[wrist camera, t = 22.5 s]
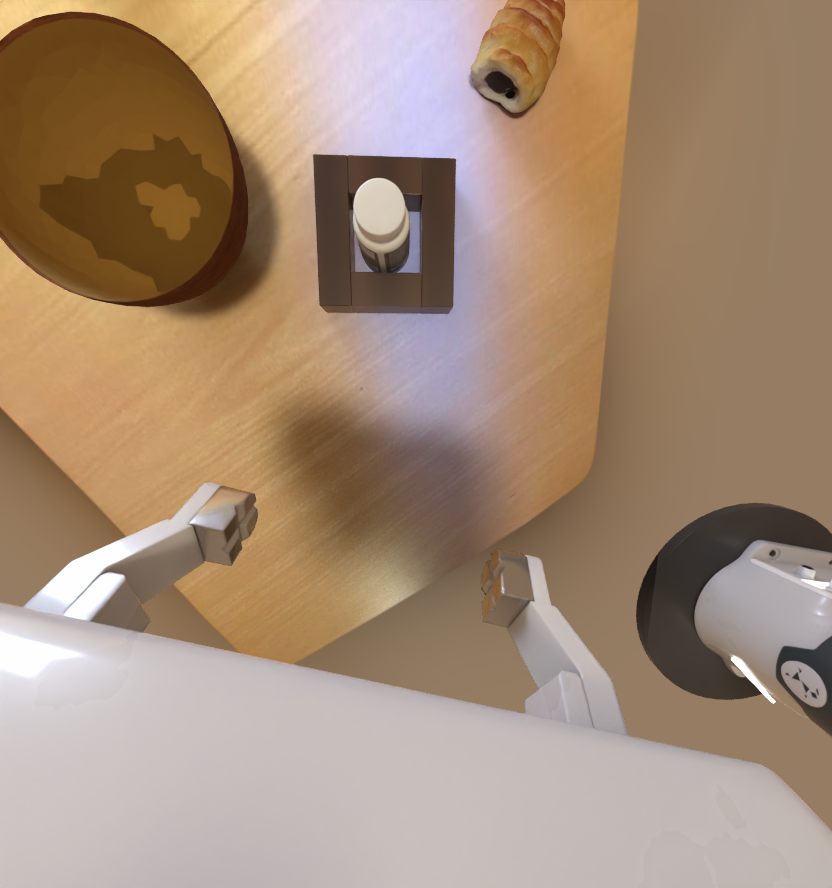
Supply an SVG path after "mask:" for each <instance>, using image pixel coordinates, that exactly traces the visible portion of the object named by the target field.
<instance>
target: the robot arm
mask: <svg viewBox="0 0 832 888" xmlns="http://www.w3.org/2000/svg"><path fill="white" fill-rule="evenodd" d="M255 502H256V497H255V494H254V493H250V492H246V491H242V490H238V489H234V488H230V487H226V486H222V485H218V484H214V483H210V482H207V483H205V484H203V485H202V486H201V487H200V488H199V489H198V490H197V491H196V492H195V493H194V495H193V496H192V497H191V498H190V499H189V500H188V501H187V502H186V503H185V504H184V506H183V507H182V508H181V509H180V510H179V511H178V512H177V513H176V514H175V516H174V517H173V518H172V519H171V520H167V519H165V520H163V521H161V522H158V523H156V524H154V525H152V526H149V527H147V528H145V529H143V530H141V531H138V532H136V533H134V534H132V535H129V536H127V537H125V538H123V539H121V540H118V541H116V542H114V543H112V544H109V545H107V546H105V547H103V548H101V549H98V550H96V551H94V552H92V553H90V554H87V555H85V556H83V557H81V558H78V559H76V560H74V561H72V562H70V563H69V564H68V565H67V566H66V567H65V568H64V569H63V570H62V571H61V572H60V573H59V574H58V575H56V576H55V578H53V579H52V580H51V581H50V582H49V583H48V584H47V585H46V586H45V587H44V588H43V589H41V590H40V591H39V592H38V593H37V594H36V595H35V596H34V597H33V598H32V599H31V600H30V601H29V602H28V603H27V604H25V605H24V606H23V607H20V606H15V605H10V604H5V603H1V602H0V888H832V831H831V830H830V829H829V828H828V827H827V826H826V824H825V823H824V822H822V820H821V819H820V818H819V817H818V816H817V815H816V814H815V813H814V812H813V811H812V810H811V809H810V808H809V807H808V805H806V804H805V802H804V801H803V800H802V799H801V798H800V797H799V796H798V795H797V794H796V793H795V792H794V791H793V790H792V789H791V788H790V787H789V786H788V785H787V784H786V783H785V782H784V781H783V780H782V779H781V778H780V777H779V776H778V775H777V774H776V773H774V772H773V771H771V770H770V769H768V768H766V767H765V766H762V765H759V764H756V763H753V762H749V761H745V760H740V759H734V758H730V757H726V756H721V755H716V754H712V753H706V752H702V751H697V750H692V749H688V748H683V747H679V746H674V745H669V744H665V743H660V742H655V741H650V740H646V739H641V738H636V737H632V736H629V735H628V732H627V729H626V725H625V722H624V719H623V716H622V712H621V709H620V705H619V702H618V699H617V695H616V692H615V689H614V686H613V683H612V680H611V678H610V677H609V676H608V674H607V673H606V672H605V670H604V669H603V668H602V666H601V665H600V664H599V663H598V661H597V660H596V659H595V657H594V656H593V655H592V654H591V652H590V651H589V649H588V648H587V647H586V645H585V644H584V643H583V642H582V640H581V639H580V638H579V636H578V635H577V634H576V632H575V631H574V630H573V628H572V627H571V626H570V624H569V623H568V622H567V621H566V619H565V618H564V617H563V615H562V614H561V613H560V611H559V610H558V609H557V607H555V606H552V605H551V601H550V596H549V592H548V588H547V583H546V578H545V574H544V569H543V564H542V561H541V559H540V558H537V557H533V556H528V555H524V554H521V553H516V552H512V551H507V550H502V549H497V548H496V549H494V550H493V551H492V553H491V560H489V561H487V562H486V563H485V565H484V567H483V571H482V576H481V589H482V591H483V592H484V594H485V595H486V596H485V597H484V599H483V601H482V616H483V622H486V623H491V624H494V625H499V626H503V627H506V628H508V629H507V630H508V632H509V633H510V635H511V637H512V639H513V641H514V643H515V645H516V647H517V649H518V651H519V652H520V654H521V656H522V658H523V660H524V662H525V664H526V666H527V668H528V670H529V672H530V673H531V675H532V677H533V679H534V681H535V683H536V685H537V687H538V690H537V691H535V692H534V693H533V694H532V695H530V696H529V697H528V698H527V699H526V700H525V701H524V703H525V712H526V714H523V713H519V712H514V711H509V710H505V709H500V708H495V707H491V706H486V705H481V704H476V703H471V702H467V701H462V700H458V699H453V698H448V697H444V696H439V695H434V694H429V693H424V692H420V691H415V690H410V689H406V688H401V687H397V686H392V685H387V684H382V683H378V682H373V681H368V680H364V679H359V678H354V677H350V676H345V675H340V674H335V673H331V672H326V671H321V670H316V669H312V668H307V667H303V666H298V665H293V664H288V663H284V662H279V661H274V660H270V659H265V658H260V657H255V656H251V655H246V654H241V653H236V652H232V651H227V650H222V649H218V648H213V647H208V646H204V645H199V644H194V643H189V642H185V641H180V640H175V639H170V638H165V637H161V636H156V635H151V634H147V633H142V632H143V631H144V630H145V628H146V626H147V625H148V624H149V622H150V617H149V615H148V613H147V612H146V610H145V609H144V607H143V605H142V604H144V603H145V602H147V601H148V600H149V599H151V598H152V597H154V596H155V595H157V594H158V593H160V592H161V591H163V590H164V589H166V588H167V587H169V586H170V585H172V584H173V583H175V582H176V581H178V580H179V579H181V578H182V577H184V576H185V575H187V574H188V573H189V572H191V571H192V570H194V569H195V568H197V567H198V566H200V565H201V564H203V563H204V561H207V562H213V563H218V564H223V565H228V566H232V564H233V562H234V561H235V559H236V558H237V556H238V554H239V553H240V551H241V550H242V544H241V541H243V540H245V539H247V538H248V537H250V535H251V534H252V532H253V530H254V528H255V525H256V522H257V518H258V511H257V509H256V508H255V507H254V503H255ZM694 622H695V628H696V631H697V634H698V636H699V638H700V639H701V641H702V642H703V644H704V645H705V646H706V647H707V648H709V649H710V650H711V651H713V652H715V653H716V654H718V655H719V656H720V657H721V658H722V659H723V661H724V663H725V665H726V666H727V668H728V669H729V670H730V671H731V672H733V673H734V674H736V675H737V676H739V677H748V678H749V679H750V680H751V681H752V682H753V683H754V685H755V686H756V687H757V688H758V689H759V690H760V691H761V692H762V693H763V694H764V695H765V696H766V697H767V698H768V699H769V700H770V701H771V702H772V703H774V702H775V701H774V700H773V699H772V698H771V697H770V696H769V694H768V693H770V694H771V695H773V696H774V697H775V698H777V699H778V700H779V701H781V702H782V703H784V704H785V705H786V706H788V707H789V708H791V709H792V710H793V711H795V712H796V713H798V714H799V715H801V716H803V717H805V718H810V719H811V720H812V721H813V722H814V723H816V724H817V725H818V726H819V727H820V728H822V729H823V730H824V731H825V732H826V734H828V735H829V736H830V737H831V738H832V553H831V552H825V551H820V550H814V549H809V548H803V547H798V546H792V545H787V544H781V543H776V542H770V541H765V540H757V541H754V542H753V543H752V544H750V545H749V547H748V548H747V549H746V550H745V551H744V552H743V553H742V555H741V556H740V557H739V558H738V559H737V560H735V561H734V562H732V563H731V564H729V565H727V566H726V567H724V568H723V569H721V570H720V571H719V572H717V573H716V574H715V575H714V576H713V577H712V578H711V579H710V580H709V581H708V583H707V584H706V585H705V587H704V588H703V590H702V592H701V594H700V595H699V598H698V600H697V603H696V607H695V614H694ZM765 690H766V691H767V692H768V693H767V692H766V691H765Z"/></svg>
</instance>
